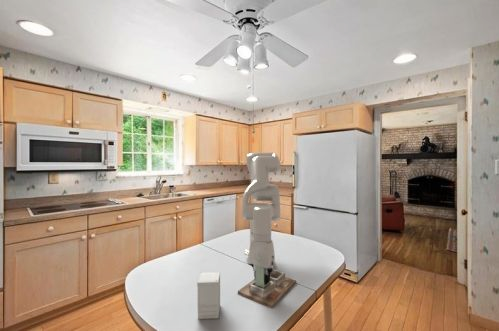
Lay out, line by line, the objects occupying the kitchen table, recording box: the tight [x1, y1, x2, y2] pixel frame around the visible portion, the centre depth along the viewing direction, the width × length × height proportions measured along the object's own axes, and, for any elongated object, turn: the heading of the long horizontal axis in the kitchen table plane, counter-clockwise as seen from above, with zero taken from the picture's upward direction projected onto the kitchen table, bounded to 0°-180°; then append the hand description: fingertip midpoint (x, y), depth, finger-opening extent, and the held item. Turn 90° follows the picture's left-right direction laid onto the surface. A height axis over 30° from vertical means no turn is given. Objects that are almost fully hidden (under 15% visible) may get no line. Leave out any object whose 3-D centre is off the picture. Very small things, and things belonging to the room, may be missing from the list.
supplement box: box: [196, 271, 221, 320], centre depth 80 cm, size 7×7×13 cm
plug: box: [254, 265, 269, 288], centre depth 92 cm, size 4×4×8 cm
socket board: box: [237, 269, 297, 309], centre depth 96 cm, size 16×22×4 cm
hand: (262, 281), depth 92 cm, fingers closed on plug, 4 cm apart
